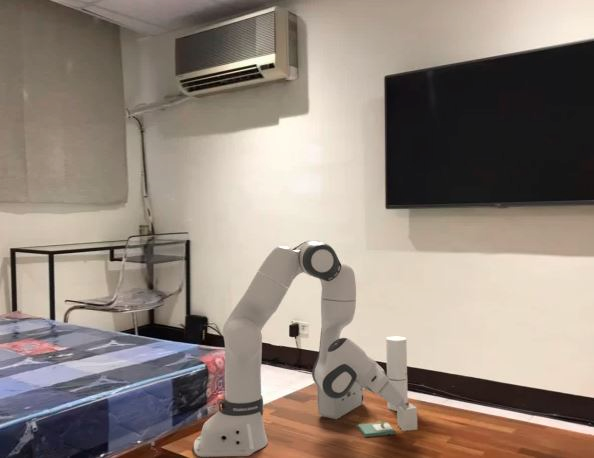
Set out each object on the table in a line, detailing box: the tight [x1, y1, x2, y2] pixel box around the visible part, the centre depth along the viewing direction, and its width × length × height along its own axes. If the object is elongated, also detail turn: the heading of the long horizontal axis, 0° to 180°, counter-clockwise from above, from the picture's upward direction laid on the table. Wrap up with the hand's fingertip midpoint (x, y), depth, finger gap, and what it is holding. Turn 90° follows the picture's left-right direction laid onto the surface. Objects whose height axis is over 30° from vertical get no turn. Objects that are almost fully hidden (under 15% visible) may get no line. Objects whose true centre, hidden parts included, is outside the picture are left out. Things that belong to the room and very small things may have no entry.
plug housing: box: [396, 402, 418, 432], centre depth 178 cm, size 5×5×8 cm
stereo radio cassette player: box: [316, 381, 364, 420], centre depth 195 cm, size 21×8×20 cm, turn 144°
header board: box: [357, 418, 397, 438], centre depth 176 cm, size 10×8×3 cm
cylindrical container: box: [385, 335, 409, 412], centre depth 197 cm, size 7×7×25 cm
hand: (400, 403), depth 177 cm, fingers open, 8 cm apart
